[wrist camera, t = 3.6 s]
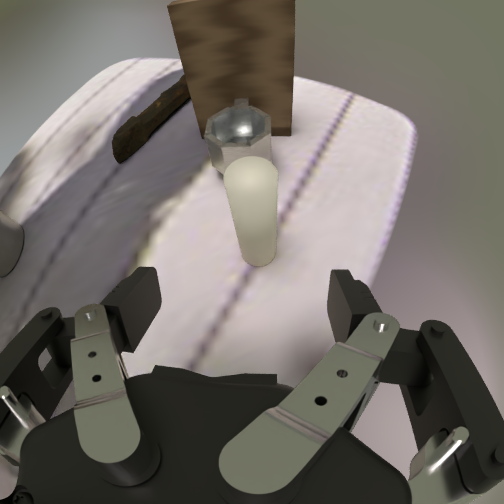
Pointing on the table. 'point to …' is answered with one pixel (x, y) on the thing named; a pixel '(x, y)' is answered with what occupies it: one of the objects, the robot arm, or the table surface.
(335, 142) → the table surface
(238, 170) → the cream white cylinder
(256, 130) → the metal cup
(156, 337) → the table surface
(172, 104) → the hand tool
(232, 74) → the wooden bookend
